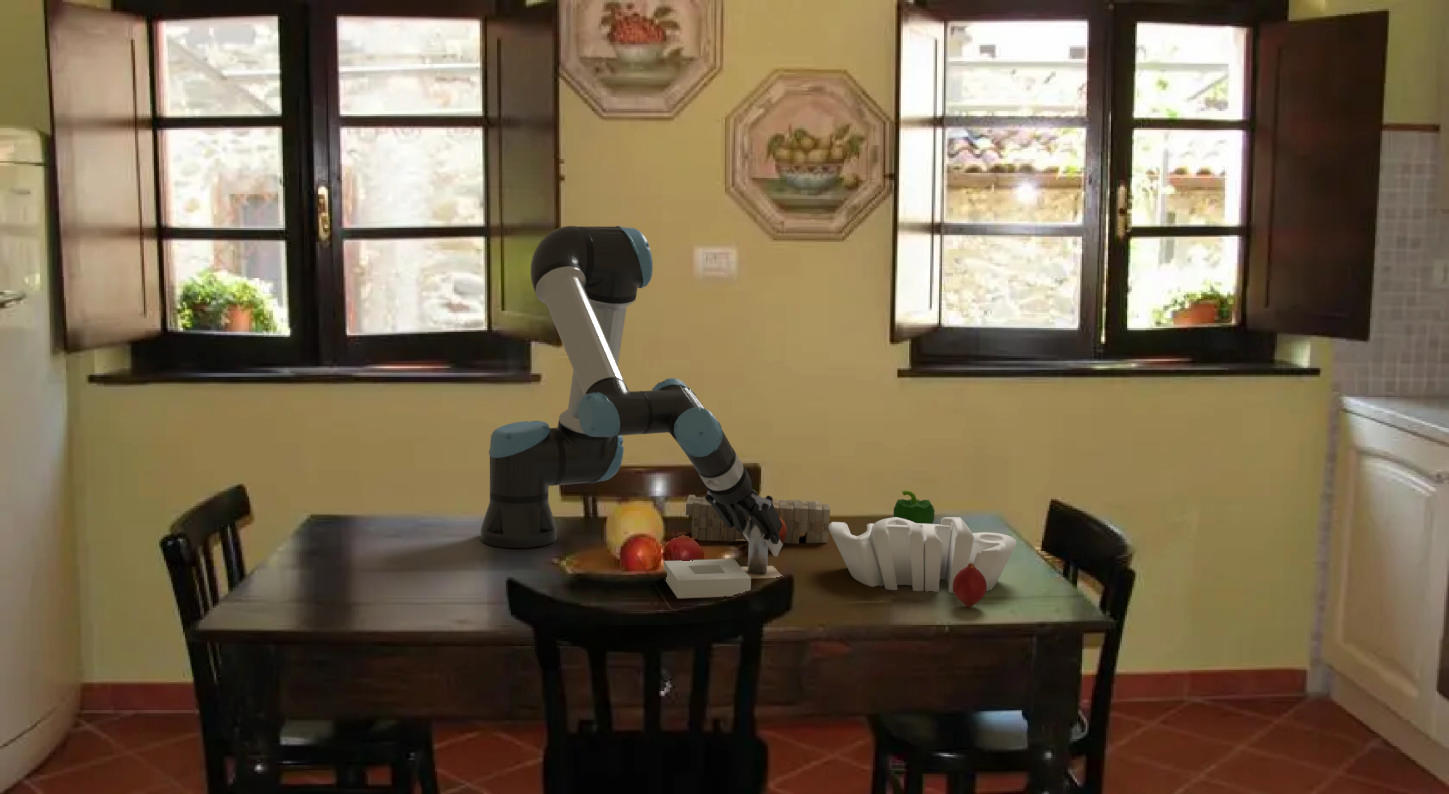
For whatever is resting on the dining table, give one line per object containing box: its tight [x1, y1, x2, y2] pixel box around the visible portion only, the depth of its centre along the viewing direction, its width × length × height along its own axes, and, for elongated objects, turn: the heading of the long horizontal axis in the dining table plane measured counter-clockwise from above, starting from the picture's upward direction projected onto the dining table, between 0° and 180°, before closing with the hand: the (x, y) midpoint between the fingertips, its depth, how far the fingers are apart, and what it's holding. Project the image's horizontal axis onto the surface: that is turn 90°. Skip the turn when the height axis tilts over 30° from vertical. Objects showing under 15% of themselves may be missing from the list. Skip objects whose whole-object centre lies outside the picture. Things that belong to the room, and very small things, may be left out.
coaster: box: [741, 565, 783, 580], centre depth 258 cm, size 8×8×1 cm
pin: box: [747, 518, 769, 575], centre depth 257 cm, size 4×4×13 cm
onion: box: [953, 563, 987, 608], centre depth 241 cm, size 6×6×8 cm
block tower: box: [685, 494, 831, 545], centre depth 285 cm, size 8×8×29 cm
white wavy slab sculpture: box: [828, 516, 1018, 593], centre depth 257 cm, size 35×16×10 cm, turn 83°
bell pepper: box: [893, 490, 936, 524], centre depth 289 cm, size 8×8×10 cm
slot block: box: [663, 558, 752, 599], centre depth 248 cm, size 13×13×4 cm
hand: (768, 548), depth 261 cm, fingers closed on pin, 3 cm apart
